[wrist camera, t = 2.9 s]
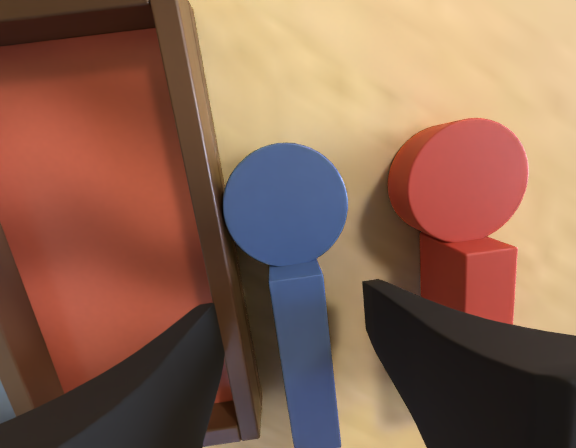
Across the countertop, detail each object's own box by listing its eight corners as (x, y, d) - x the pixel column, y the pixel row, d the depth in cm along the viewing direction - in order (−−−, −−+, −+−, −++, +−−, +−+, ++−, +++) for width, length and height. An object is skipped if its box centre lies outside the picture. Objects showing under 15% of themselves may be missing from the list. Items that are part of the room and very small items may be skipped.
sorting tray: (262, 396, 13) (260, 439, 11) (-100, 449, 13) (-169, 502, 11) (193, 8, 10) (171, -33, 8) (-315, 69, 9) (-479, 43, 7)
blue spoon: (353, 381, 13) (375, 443, 11) (264, 394, 13) (261, 460, 10) (332, 138, 11) (353, 130, 8) (221, 153, 11) (201, 150, 8)
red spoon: (483, 363, 14) (540, 418, 11) (395, 376, 14) (428, 434, 11) (492, 118, 11) (571, 102, 8) (384, 132, 11) (424, 121, 8)
